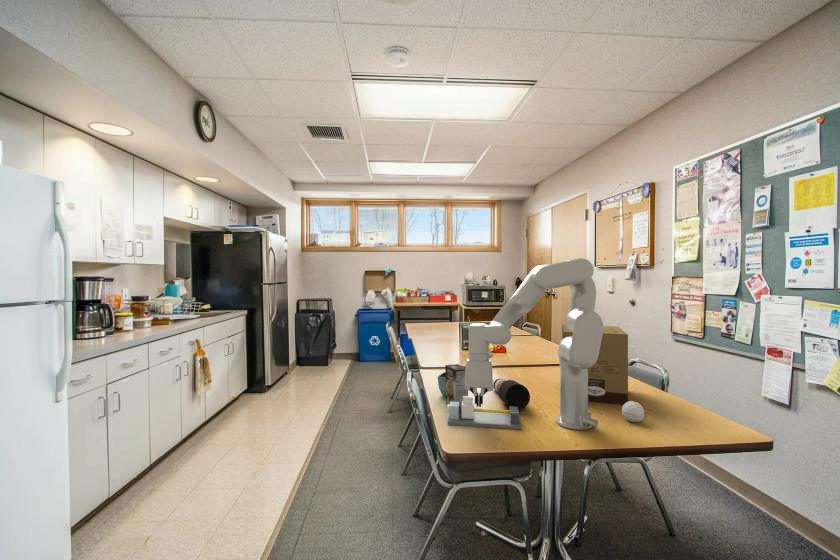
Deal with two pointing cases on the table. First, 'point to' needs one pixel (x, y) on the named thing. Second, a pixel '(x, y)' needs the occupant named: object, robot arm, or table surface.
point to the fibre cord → (491, 411)
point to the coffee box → (455, 383)
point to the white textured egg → (633, 411)
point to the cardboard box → (608, 367)
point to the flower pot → (442, 383)
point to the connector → (454, 410)
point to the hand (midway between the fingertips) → (478, 405)
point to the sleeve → (468, 407)
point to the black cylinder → (512, 393)
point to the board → (490, 420)
